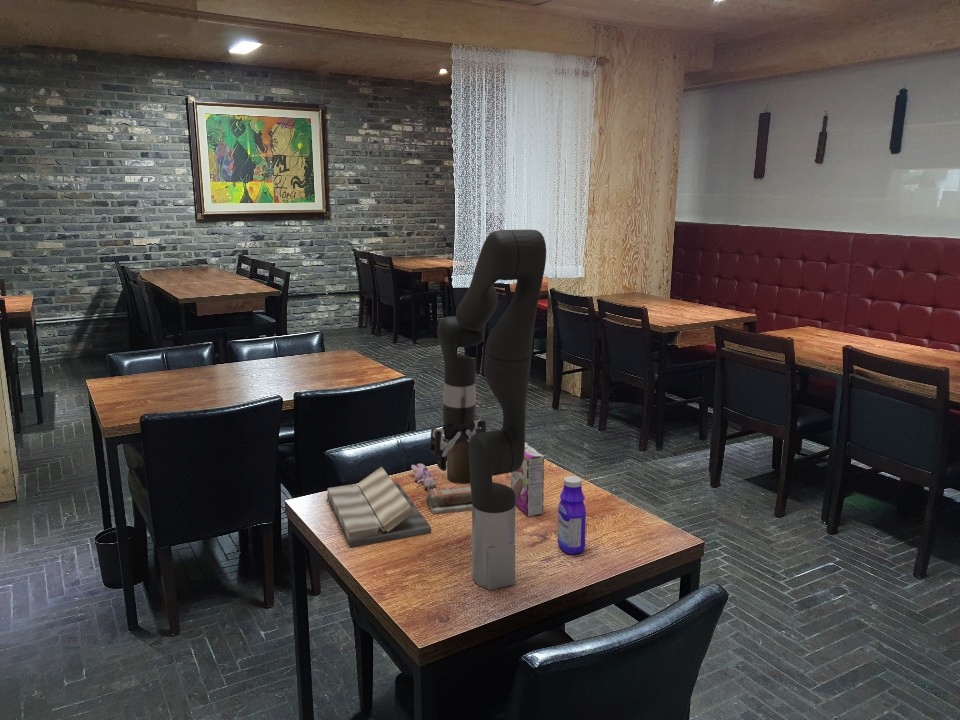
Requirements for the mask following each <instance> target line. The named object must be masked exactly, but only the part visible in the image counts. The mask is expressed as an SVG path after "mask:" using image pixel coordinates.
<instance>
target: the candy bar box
mask: <svg viewBox="0 0 960 720" xmlns="http://www.w3.org/2000/svg"><path fill="white" fill-rule="evenodd" d="M544 472H545V455H543V454H541V452H539V451H538V450H536V449H535V448H534V447H533V446H532V445H530V444H529V443H527V442H526V441H525V453H524V460H523V463H522V466H521V468H520V469H519V470H517V471H515V472H511V473H510V488H512V489H513V490H514V492H515V496H516V505H515V507H516V508H518V510H520V511H521V512H522V513H523V514H524V516H526V517H527V518H529V517H534V516H535V517H536V516H540V515H544V486H545V485H544V484H545V482H544V481H545V480H544V479H545V477H544V476H545V475H544V474H545V473H544Z"/></svg>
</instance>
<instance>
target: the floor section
mask: <svg viewBox="0 0 960 720" xmlns="http://www.w3.org/2000/svg"><path fill="white" fill-rule="evenodd" d="M393 483H394V484H395V485H396V487H397V488H398V490H399V491H400V492H401V494H402V495H403V496H404V498H405V499H406V501H407V502H408V503H409V505H410V506H411V508H412V509H413V510H414V513H413V514H411V515H410V516H409V517H407V518H406V519H405V520H403V521H402V522H401V523H399V524H398V525H397V526H395V527H394V528H393V529H391V530H390V531H388V532H387V531H385V532H383V531H382V530H381V529H382V526H381V524H380V522H379V521H378V519H377V517H376V516H375V514H374V512H373V510H372V509H371V507H370V505H369V504H368V502H367V500H366V499H365V497H364V495H363V494H362V492H361V490H360V489H359V487H358V486H359V485H358V483H352V484H345V485H340V486H339V485H338V486H334V487H333V486H332V487H327V493H326V494H327V497H326V498H327V501H328V500H329V501H328V502H329V505H330V507H331V509H332V511H334V512H333V513H335V514H334V516H335V515H336V516H335V517H337V518H336V519H337V522H338V524H339V526H340V528H342V529H341V530H342V532H343V535H344V537H345V539H346V541H347V544H348V546H349V548H350V549H351V548H357V547H363V546H368V545H372V544H379V543H383V542H385V543H386V542H389V541H394V540H400V539H406V538H410V537H411V538H412V537H416V535H417V536H422V535H426V534H431V533H432V527H431V525H430V524H429V523H428V521H427V520H426V519H425V516H423V515H422V513H421V512H420V510H419V509H418V508H417V506H416V505H415V504H414V502H413V501H412V499H410V497H409V495H408V494H407V493H406V491H405V490H404V488H402V486H401V485H400V484H399V482H393Z"/></svg>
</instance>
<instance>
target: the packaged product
mask: <svg viewBox="0 0 960 720" xmlns="http://www.w3.org/2000/svg"><path fill="white" fill-rule="evenodd" d="M429 489H430V491H429V492H427V495H426V496H425V499H426V502H427V505H428V508H429V509H430V512H431V514H432V515H438V514H440V513H441V514H447V513H448V514H449V513H460V512H461V513H462V512H469V511H471V512H472V494H471V487H470V484H469V485H458V486H457V485H455V486H446V487H437V488H436V487H435V488H433V489H432V488H429Z"/></svg>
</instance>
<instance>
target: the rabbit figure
mask: <svg viewBox="0 0 960 720" xmlns="http://www.w3.org/2000/svg"><path fill="white" fill-rule="evenodd" d="M411 470H412V472H413V473H414V480H416V484H419V483H423V488H424V490H426V489H427V491H426V492H427V493H429V491H430V489H432V488H438V485H437V483H436V481H437V480H438V477H432V473H431V472H430V471H429V470H428V467H427V466H426V465H425V464H423V463H417V464H416V465H415V464H411Z"/></svg>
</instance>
